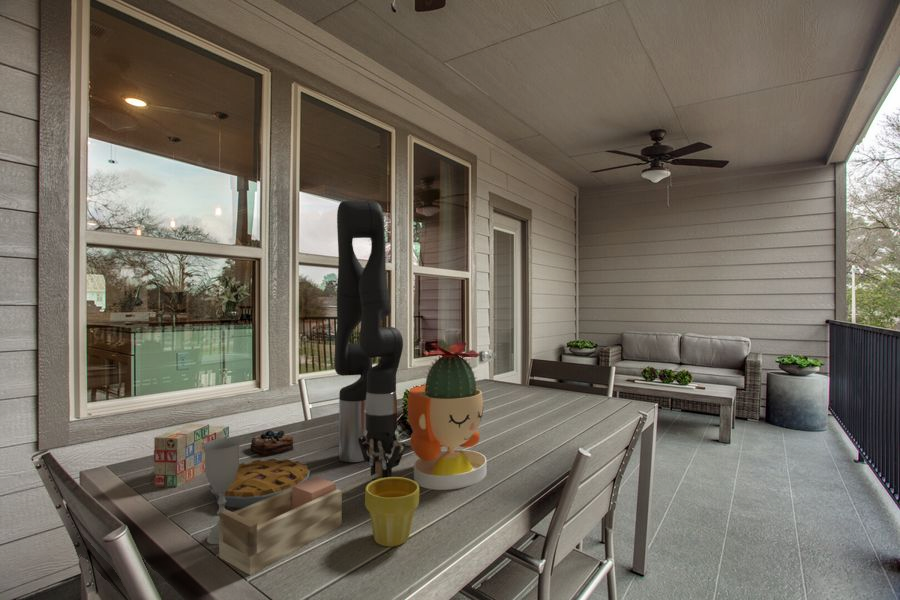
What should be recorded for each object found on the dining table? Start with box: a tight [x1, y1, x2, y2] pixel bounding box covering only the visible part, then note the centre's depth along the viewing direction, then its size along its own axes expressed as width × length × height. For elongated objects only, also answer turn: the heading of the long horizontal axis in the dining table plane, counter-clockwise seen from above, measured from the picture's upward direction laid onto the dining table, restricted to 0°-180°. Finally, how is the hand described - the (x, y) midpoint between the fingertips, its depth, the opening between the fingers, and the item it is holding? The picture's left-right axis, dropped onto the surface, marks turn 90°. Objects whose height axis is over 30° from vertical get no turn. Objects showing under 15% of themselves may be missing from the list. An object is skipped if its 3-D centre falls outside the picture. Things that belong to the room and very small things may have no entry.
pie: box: [208, 458, 311, 509], centre depth 107 cm, size 22×22×5 cm
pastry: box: [249, 429, 295, 458], centre depth 137 cm, size 11×12×6 cm
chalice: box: [202, 437, 243, 545], centre depth 86 cm, size 7×7×18 cm
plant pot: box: [364, 476, 420, 547], centre depth 86 cm, size 10×10×10 cm
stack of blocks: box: [153, 423, 230, 488], centre depth 120 cm, size 21×6×12 cm, turn 174°
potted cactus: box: [407, 341, 488, 491], centre depth 119 cm, size 22×22×35 cm
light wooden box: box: [218, 488, 343, 576], centre depth 84 cm, size 20×9×8 cm, turn 146°
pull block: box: [292, 459, 383, 510], centre depth 98 cm, size 24×6×6 cm, turn 146°
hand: (381, 481), depth 107 cm, fingers closed on pull block, 3 cm apart
